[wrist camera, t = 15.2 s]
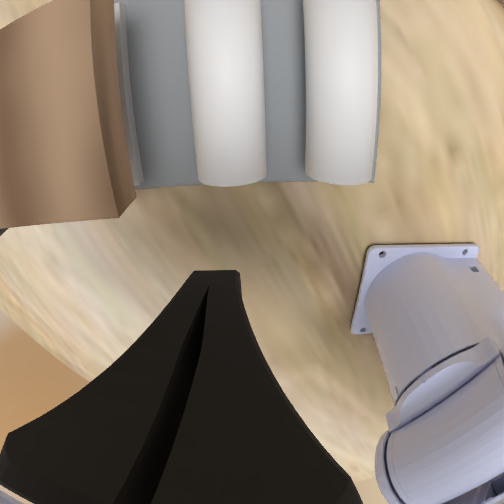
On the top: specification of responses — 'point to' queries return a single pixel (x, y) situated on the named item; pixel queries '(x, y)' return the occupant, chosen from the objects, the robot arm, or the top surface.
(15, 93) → the walnut slab
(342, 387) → the top surface
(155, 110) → the roller bed
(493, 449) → the robot arm
